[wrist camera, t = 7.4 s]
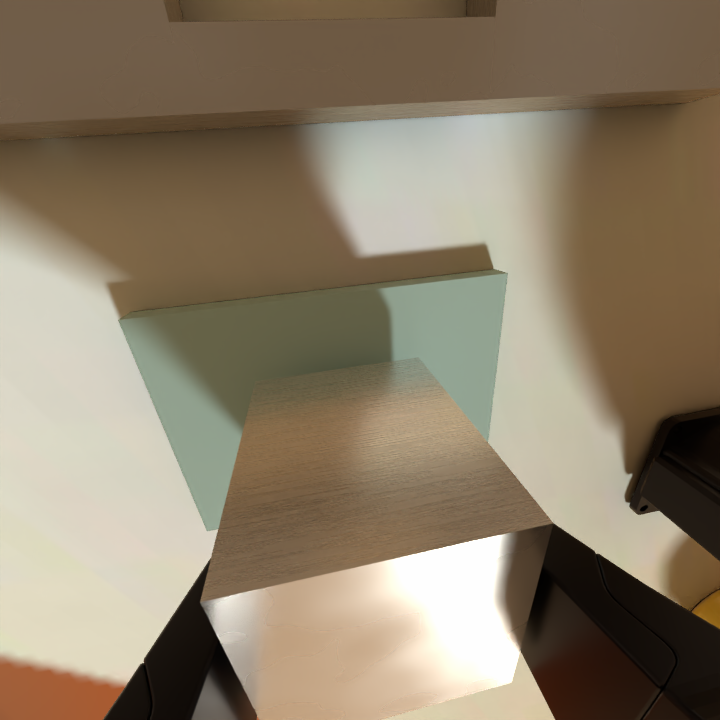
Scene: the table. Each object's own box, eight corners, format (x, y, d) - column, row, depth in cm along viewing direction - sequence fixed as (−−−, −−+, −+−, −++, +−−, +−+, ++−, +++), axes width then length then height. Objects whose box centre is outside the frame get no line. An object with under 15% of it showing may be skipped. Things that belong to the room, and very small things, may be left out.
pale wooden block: (418, 357, 10) (553, 523, 5) (418, 476, 12) (511, 682, 7) (255, 381, 10) (200, 601, 4) (285, 502, 12) (274, 749, 6)
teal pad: (494, 269, 11) (507, 273, 11) (475, 463, 15) (483, 475, 15) (131, 312, 10) (118, 320, 9) (211, 514, 14) (207, 531, 13)
